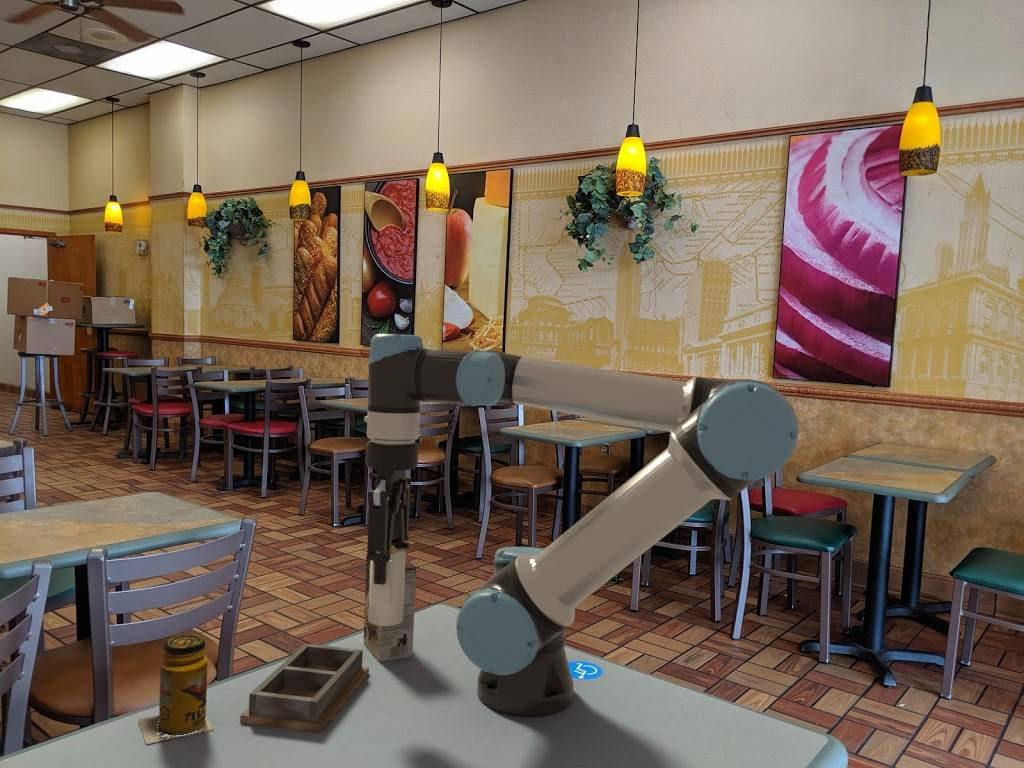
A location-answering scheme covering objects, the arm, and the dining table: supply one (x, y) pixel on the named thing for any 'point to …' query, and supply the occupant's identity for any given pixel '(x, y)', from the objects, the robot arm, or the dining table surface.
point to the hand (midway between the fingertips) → (386, 598)
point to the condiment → (180, 691)
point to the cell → (395, 610)
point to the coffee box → (396, 637)
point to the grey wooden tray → (307, 688)
